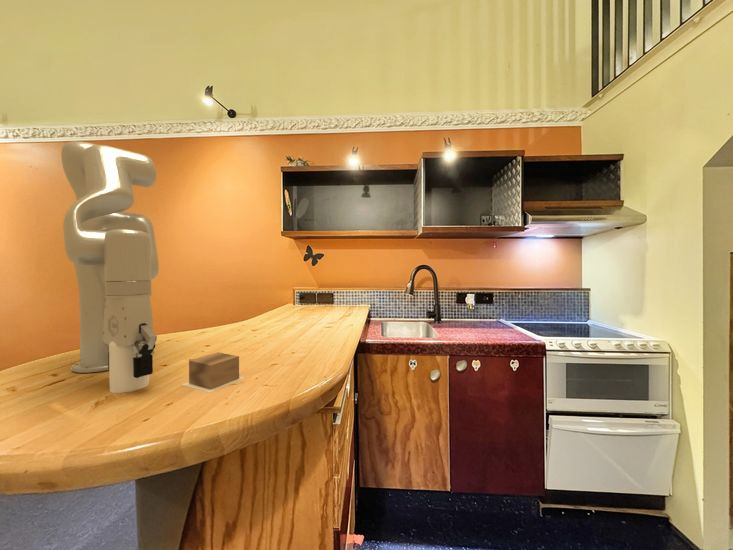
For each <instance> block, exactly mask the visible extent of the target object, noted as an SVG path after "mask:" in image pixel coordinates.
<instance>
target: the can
mask: <svg viewBox="0 0 733 550" xmlns="http://www.w3.org/2000/svg"><path fill="white" fill-rule="evenodd" d="M138 342H139V341H138ZM139 348H140V350H141V348H142V346H140V347H139ZM135 357H136V356H135V353H134V351H133V349H132V346H131V345H130V347H128V348H121V347H118V346H116V344H115V343H114V342H113V341H112V342H110V344H109V370H108V371H109V372H108V373H109V374H108V375H109V378H108V379H109V392H110V393H113V394H123V393H129V392H134V391H138V390H141V389H143V388H145V387H147V386H149V385H150V374H149V375H145V376H142V377H138V378H135V377H134V375H133V358H135Z"/></svg>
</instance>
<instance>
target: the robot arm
mask: <svg viewBox="0 0 733 550" xmlns="http://www.w3.org/2000/svg"><path fill="white" fill-rule="evenodd" d="M60 154H61V165H62V169H63V172H64V175H65V177H66V179H67V182H68V183H69V185H70V188H71V189H72V190H73V193H74V195H75V198H76V199H75V200H76V201H74V202H73V204H72V205H70V206H69V208H68V210H66V213H65V215H64V217H63V223H62V224H63V226H62V227H63V241H64V242H63V243H64V251H65V255H66V257H67V259H68V261H70V262H71V263H73V265H74V267H73V268H74V271H75V275H76V280H77V286H78V287H77V288H78V299H79V300H78V301H79V302H78V304H79V305H78V307H79V346H80V347H79V361H78V362H74V363H73V364H72V365H71V371H72V372H74V373H79V374H80V373H81V374H83V373H85V374H87V373H98V372H105V371H109V344H110V342H112V341H113V342H114V343H115V344H116V346H118V347H121V348H128V347H130V345H131V346H132V349H133V351H134V353H135V356H136V357H135V358H133V375H134V377H135V378H138V377H142V376H145V375H149V376H150V375H151V374H153V368H154V367H153V365H154V364H153V362H154V361H153V360H154V359H153V355H154V354H155V349H156V343H157V338H158V335H157V334H156V333H155V331H154V323H153V322H154V320H153V310H152V301H151V298H150V297H152V280H153V279H155V278H156V277H157V276H158V273H159V269H160V268H159V264H160V263H159V262H160V261H159V255H158V248H157V243H156V235H155V230H154V225H153V222H152V221H151V220H150V218H149V217H147V216H146V215H144V214H141V213H135V212H127V210H129V209H130V208H131V207H132V206H133V205H134V203H135V196H134V191H133V186H136V187H144V188H151V187H153V186H154V184H155V183H156V180H157V168H156V165H155V163H154V161H153V160H152V159H151V158H150V157H149V156H148V155H145V154H142V153H140V152H134V151H131V150H127V149H122V148H119V147H114V146H110V145H104V144H96V143H91V142H85V141H76V140H75V141H74V140H73V141H72V140H71V141H68V142H66V143H64V144H63V146H62V147H61V151H60ZM138 341H139V342H138ZM140 346H142V348H141V350H140V348H139V347H140Z"/></svg>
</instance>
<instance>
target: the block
mask: <svg viewBox="0 0 733 550" xmlns="http://www.w3.org/2000/svg"><path fill="white" fill-rule="evenodd" d="M239 376H240V356H238V355H234V354H230V353H223V352H215V353H211V354H208V355H203V356H200V357H196V358H193V359H189V360H188V382H189V384H192V385H196V386H199V387H203V388H207V389H210V390H211V389H214V388H216V387H219V386H221V385H224V384H226V383H229V382H231V381H234V380H236V379H239Z"/></svg>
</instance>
